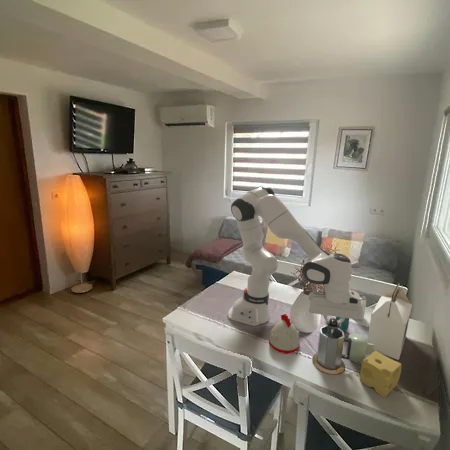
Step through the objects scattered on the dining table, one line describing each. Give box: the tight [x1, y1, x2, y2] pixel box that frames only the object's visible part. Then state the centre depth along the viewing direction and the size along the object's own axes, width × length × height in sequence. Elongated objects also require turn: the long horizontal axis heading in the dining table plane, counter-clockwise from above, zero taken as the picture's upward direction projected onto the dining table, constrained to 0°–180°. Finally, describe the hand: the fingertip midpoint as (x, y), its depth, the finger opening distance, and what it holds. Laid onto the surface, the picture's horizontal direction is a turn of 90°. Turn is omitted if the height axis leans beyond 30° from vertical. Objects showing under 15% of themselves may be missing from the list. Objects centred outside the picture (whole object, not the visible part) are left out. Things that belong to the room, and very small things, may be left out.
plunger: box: [326, 317, 339, 338], centre depth 120 cm, size 7×7×13 cm
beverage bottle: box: [334, 317, 350, 332], centre depth 144 cm, size 6×7×20 cm
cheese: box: [359, 350, 402, 398], centre depth 112 cm, size 10×11×10 cm
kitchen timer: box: [268, 313, 301, 355], centre depth 134 cm, size 14×14×15 cm
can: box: [359, 294, 367, 321], centre depth 157 cm, size 6×6×12 cm
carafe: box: [311, 324, 352, 376], centre depth 121 cm, size 14×13×15 cm
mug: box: [345, 332, 374, 363], centre depth 127 cm, size 10×8×9 cm
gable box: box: [367, 282, 413, 361], centre depth 135 cm, size 22×13×28 cm, turn 142°
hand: (332, 324), depth 119 cm, fingers closed on plunger, 3 cm apart
